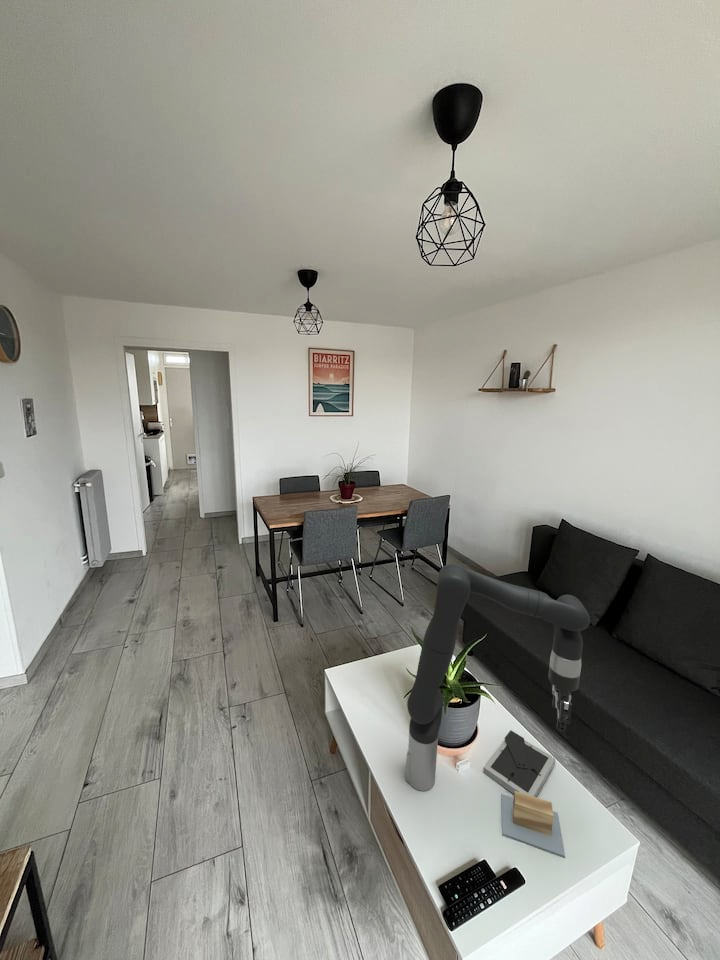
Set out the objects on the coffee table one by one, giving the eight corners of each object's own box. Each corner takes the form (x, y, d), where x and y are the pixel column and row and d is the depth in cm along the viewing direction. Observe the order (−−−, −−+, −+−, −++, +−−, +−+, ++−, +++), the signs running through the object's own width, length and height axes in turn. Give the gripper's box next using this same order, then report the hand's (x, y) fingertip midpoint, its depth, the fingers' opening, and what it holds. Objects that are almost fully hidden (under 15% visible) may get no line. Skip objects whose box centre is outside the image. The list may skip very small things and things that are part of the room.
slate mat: (502, 835, 106) (502, 833, 106) (501, 795, 117) (501, 794, 117) (564, 857, 101) (565, 856, 101) (557, 814, 112) (557, 812, 112)
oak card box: (550, 836, 106) (553, 816, 104) (513, 823, 109) (515, 803, 108) (548, 822, 109) (551, 802, 108) (512, 810, 113) (514, 790, 111)
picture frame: (510, 736, 139) (483, 772, 125) (510, 730, 139) (483, 765, 125) (555, 763, 128) (531, 806, 114) (555, 756, 128) (531, 798, 113)
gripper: (586, 688, 95) (578, 743, 98) (575, 655, 108) (568, 704, 111) (553, 680, 98) (547, 734, 100) (546, 649, 111) (541, 697, 114)
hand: (558, 718), depth 106 cm, fingers open, 8 cm apart
